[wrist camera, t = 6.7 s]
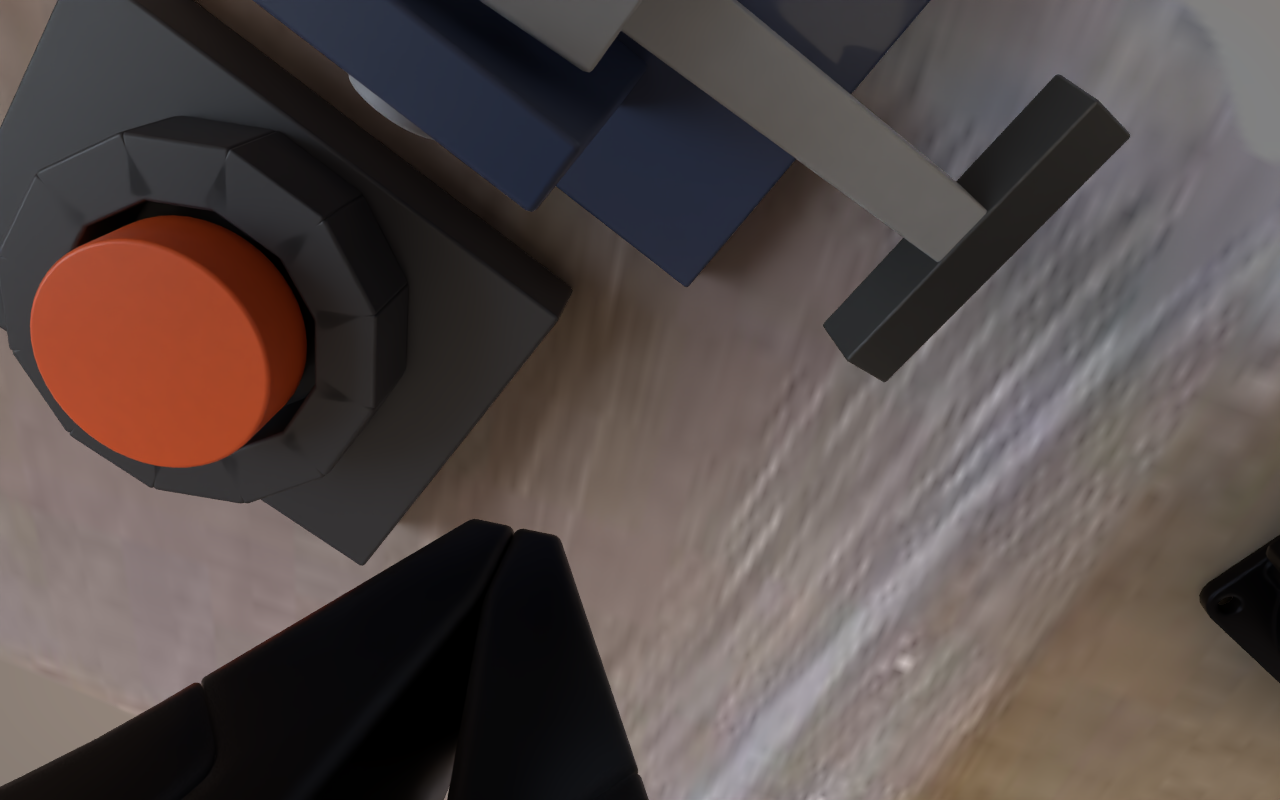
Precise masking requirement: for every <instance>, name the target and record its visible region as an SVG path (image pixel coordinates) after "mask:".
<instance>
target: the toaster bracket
mask: <svg viewBox="0 0 1280 800" xmlns="http://www.w3.org/2000/svg"><path fill="white" fill-rule="evenodd" d="M253 1H254V2H256V3H257V4H258V5H260V6H261V7H262V8H263V9H265V10H266V11H267V12H269V13H270V14H271V15H273V16H274V17H275V18H276V19H278V20H279V21H280V22H282V23H283V24H284V25H286V26H287V27H288V28H289V29H291V30H292V31H293V32H295V33H296V34H297V35H299V36H300V37H301V38H302V39H304V40H305V41H306V42H308V43H309V44H310V45H312V46H313V47H314V48H315V49H317V50H318V51H319V52H321V53H322V54H323V55H325V56H326V57H327V58H328V59H330V60H331V61H332V62H334V63H335V64H336V65H338V66H339V67H340V68H341V69H343V70H344V71H345V72H347V73H348V74H349V79H350V82H351V84H352V85H353V87H354V88H355V90H356V91H357V92H358V93H359V94H360V95H361V96H362V97H363V99H364V100H365V101H366V102H368V103H369V104H370V105H371V106H372V107H373V108H374V109H375V110H377V111H378V112H379V113H380V114H382V115H383V116H385V117H386V118H387V119H389V120H390V121H392V122H393V123H395V124H397V125H398V126H400V127H402V128H404V129H405V130H407V131H409V132H412V133H414V134H416V135H419V136H421V137H424V138H427V139H432V140H435V141H436V142H438V143H439V144H440V145H442V146H443V147H444V148H446V149H447V150H448V151H449V152H451V153H452V154H453V155H455V156H456V157H457V158H459V159H460V160H461V161H462V162H464V163H465V164H466V165H468V166H469V167H470V168H472V169H473V170H474V171H475V172H477V173H478V174H479V175H481V176H482V177H483V178H485V179H486V180H487V181H488V182H490V183H491V184H492V185H494V186H495V187H496V188H498V189H499V190H500V191H502V192H503V193H504V194H505V195H507V196H508V197H509V198H511V199H512V200H513V201H515V202H516V203H517V204H518V205H520V206H521V207H522V208H524V209H525V210H527V211H530V212H533V211H534V210H536V209H537V208H538V207H539V206H540V205H541V203H542V202H543V201H544V200H545V198H546V197H547V196H548V195H549V193H550V192H551V191H552V190H553V188H554V187H555V186H556V187H558V188H559V189H560V190H562V191H563V192H564V193H565V194H567V195H568V196H569V197H571V198H572V199H573V200H574V201H576V202H577V203H578V204H579V205H581V206H582V207H583V208H585V209H586V210H587V211H588V212H590V213H591V214H592V215H594V216H595V217H596V218H597V219H599V220H600V221H601V222H603V223H604V224H605V225H606V226H608V227H609V228H610V229H612V230H613V231H614V232H615V233H617V234H618V235H619V236H621V237H622V238H623V239H624V240H626V241H627V242H628V243H630V244H631V245H632V246H633V247H635V248H636V249H637V250H638V251H640V252H641V253H642V254H644V255H645V256H646V257H647V258H649V259H650V260H651V261H653V262H654V263H655V264H656V265H658V266H659V267H660V268H662V269H663V270H664V271H665V272H667V273H668V274H669V275H671V276H672V277H673V278H674V279H676V280H677V281H678V282H680V283H681V284H682V285H683V286H685V287H688V286H689V285H690V284H691V283H692V282H693V281H694V279H695V278H696V277H697V276H698V275H699V273H700V272H701V271H702V270H703V269H704V268H705V266H706V265H707V264H708V263H709V262H710V260H711V259H712V258H713V257H714V256H715V255H716V253H717V252H718V251H719V250H720V249H721V247H722V246H723V245H724V244H725V243H726V242H727V240H728V239H729V238H730V237H731V236H732V234H733V233H734V232H735V231H736V230H737V229H738V227H739V226H740V225H741V224H742V223H743V221H744V220H745V219H746V218H747V217H748V216H749V214H750V213H751V212H752V211H753V210H754V208H755V207H756V206H757V205H758V204H759V203H760V201H761V200H762V199H763V198H764V197H765V195H766V194H767V193H768V192H769V191H770V190H771V188H772V187H773V186H774V185H775V184H776V182H777V181H778V180H779V179H780V178H781V177H782V175H783V174H784V173H785V172H786V171H787V169H788V168H789V167H790V166H791V165H792V164H793V162H794V161H795V160H796V159H795V158H794V157H793V156H791V155H790V154H789V153H787V152H786V151H785V150H783V149H782V148H780V147H779V146H778V145H776V144H775V143H774V142H772V141H771V140H770V139H768V138H767V137H765V136H764V135H763V134H761V133H760V132H759V131H757V130H756V129H754V128H753V127H752V126H750V125H749V124H748V123H746V122H745V121H744V120H742V119H741V118H739V117H738V116H737V115H735V114H734V113H733V112H731V111H730V110H729V109H727V108H726V107H724V106H723V105H722V104H720V103H719V102H718V101H716V100H715V99H713V98H712V97H711V96H709V95H708V94H707V93H705V92H704V91H703V90H701V89H700V88H698V87H697V86H696V85H694V84H693V83H692V82H690V81H689V80H688V79H686V78H685V77H683V76H682V75H681V74H679V73H678V72H677V71H675V70H674V69H673V68H671V67H670V66H668V65H667V64H666V63H664V62H663V61H662V60H660V59H659V58H657V57H656V56H655V55H653V54H652V53H651V52H649V51H648V50H647V49H645V48H644V47H642V46H641V45H640V44H638V43H637V42H636V41H634V40H633V39H632V38H630V37H629V36H627V35H626V34H625V33H623V32H622V31H620V33H619V34H618V36H617V37H616V38H615V40H614V41H613V43H612V44H611V45H610V47H609V48H608V50H607V51H606V52H605V54H604V55H603V57H602V58H601V59H600V61H599V62H598V64H597V65H596V66H595V68H594V69H593V70H592V71H591V72H585V71H582V70H580V69H579V68H578V67H576V66H575V65H573V64H572V63H570V62H569V61H567V60H566V59H564V58H563V57H561V56H560V55H559V54H557V53H556V52H554V51H553V50H551V49H550V48H548V47H547V46H545V45H544V44H542V43H541V42H539V41H538V40H537V39H535V38H534V37H532V36H531V35H529V34H528V33H526V32H525V31H523V30H522V29H520V28H519V27H517V26H516V25H515V24H513V23H512V22H510V21H509V20H507V19H506V18H504V17H503V16H501V15H500V14H498V13H497V12H495V11H494V10H493V9H491V8H490V7H488V6H487V5H485V4H484V3H482V2H481V1H479V0H253ZM737 1H738V2H739V3H741V4H742V5H743V6H744V7H746V8H747V9H748V10H749V11H750V12H752V13H753V14H754V15H755V16H756V17H758V18H759V19H760V20H761V21H762V22H764V23H765V24H766V25H767V26H768V27H770V28H771V29H772V30H773V31H775V32H776V33H777V34H778V35H779V36H781V37H782V38H783V39H784V40H785V41H787V42H788V43H789V44H790V45H791V46H793V47H794V48H795V49H796V50H798V51H799V52H800V53H801V54H802V55H804V56H805V57H806V58H807V59H808V60H810V61H811V62H812V63H813V64H814V65H816V66H817V67H818V68H819V69H821V70H822V71H823V72H824V73H825V74H827V75H828V76H829V77H830V78H831V79H833V80H834V81H835V82H836V83H837V84H839V85H840V86H841V87H842V88H843V89H845V90H846V91H847V92H848V93H850V94H852V93H853V91H854V90H855V89H856V88H857V87H858V85H859V84H860V83H861V82H862V81H863V80H864V78H865V77H866V76H867V75H868V74H869V72H870V71H871V70H872V69H873V68H874V67H875V65H876V64H877V63H878V62H879V61H880V59H881V58H882V57H883V56H884V55H885V54H886V52H887V51H888V50H889V49H890V48H891V46H892V45H893V44H894V43H895V42H896V41H897V39H898V38H899V37H900V36H901V35H902V33H903V32H904V31H905V30H906V29H907V28H908V26H909V25H910V24H911V23H912V22H913V20H914V19H915V18H916V17H917V16H918V15H919V13H920V12H921V11H922V10H923V9H924V7H925V6H926V5H927V4H928V3H929V2H930V0H737Z"/></svg>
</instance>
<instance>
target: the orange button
mask: <svg viewBox="0 0 1280 800" xmlns="http://www.w3.org/2000/svg"><path fill="white" fill-rule="evenodd" d="M30 334H31V343H32V348H33V353H34V357H35V360H36V363H37V366H38V369H39V371H40V373H41V375H42V378H43V380H44V382H45V384H46V386H47V387H48V389H49V391H50V392H51V394H52V395H53V397H54V399H55V400H56V401H57V402H58V404H59V405H60V406H61V408H62V409H63V410H64V412H65V413H66V414H67V415H68V416H69V417H70V418H71V419H72V420H73V421H74V422H75V423H76V424H77V425H78V426H79V427H80V428H82V429H83V430H84V431H85V432H86V433H87V434H89V435H90V436H91V437H93V438H94V439H95V440H97V441H98V442H100V443H101V444H103V445H105V446H106V447H108V448H110V449H111V450H113V451H115V452H117V453H119V454H122V455H124V456H126V457H128V458H131V459H134V460H137V461H140V462H143V463H147V464H151V465H156V466H162V467H171V468H188V467H195V466H202V465H206V464H210V463H213V462H217V461H219V460H221V459H223V458H226V457H228V456H230V455H231V454H233V453H234V452H236V451H237V450H239V449H240V448H241V447H243V446H244V445H245V444H246V443H247V442H248V441H249V440H250V439H251V438H252V437H253V436H254V435H255V434H256V433H257V432H258V431H259V430H260V429H261V428H262V427H263V426H264V425H265V424H266V423H267V422H268V421H269V420H270V419H271V418H272V417H273V416H274V415H275V414H276V413H277V412H278V411H279V410H281V409H282V408H283V407H284V406H285V405H286V403H287V402H288V401H289V400H290V398H291V397H292V396H293V394H294V393H295V391H296V389H297V387H298V385H299V383H300V381H301V378H302V375H303V373H304V368H305V363H306V356H307V338H306V329H305V324H304V319H303V315H302V313H301V310H300V307H299V304H298V302H297V300H296V297H295V295H294V293H293V291H292V289H291V288H290V286H289V285H288V283H287V281H286V280H285V278H284V277H283V275H282V274H281V273H280V271H279V270H278V269H277V268H276V267H275V265H274V264H273V263H272V262H271V261H270V260H269V259H268V258H267V257H266V256H265V255H264V254H263V253H262V252H261V251H260V250H259V249H257V248H256V247H255V246H254V245H252V244H251V243H250V242H248V241H247V240H245V239H244V238H242V237H241V236H239V235H237V234H236V233H234V232H232V231H230V230H228V229H226V228H224V227H222V226H220V225H217V224H214V223H211V222H208V221H205V220H202V219H197V218H193V217H188V216H177V215H166V216H155V217H150V218H145V219H142V220H139V221H136V222H133V223H131V224H128V225H126V226H124V227H122V228H119V229H117V230H115V231H113V232H110V233H108V234H106V235H104V236H101V237H99V238H97V239H95V240H92V241H90V242H88V243H86V244H83V245H81V246H79V247H77V248H75V249H74V250H72V251H70V252H68V253H67V254H65V255H64V256H63V257H62V258H60V259H59V260H58V261H56V263H55V264H54V265H53V266H52V267H51V268H50V269H49V270H48V272H47V273H46V275H45V276H44V278H43V280H42V281H41V283H40V285H39V287H38V290H37V292H36V294H35V297H34V300H33V305H32V309H31V318H30Z"/></svg>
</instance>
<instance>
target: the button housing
mask: <svg viewBox="0 0 1280 800" xmlns="http://www.w3.org/2000/svg"><path fill="white" fill-rule="evenodd" d="M166 215H177V216H188V217H193V218H197V219H202V220H205V221H208V222H211V223H214V224H217V225H220V226H222V227H224V228H226V229H228V230H230V231H232V232H234V233H236V234H237V235H239V236H241V237H242V238H244V239H245V240H247V241H248V242H250V243H251V244H252V245H254V246H255V247H256V248H257V249H259V250H260V251H261V252H262V253H263V254H264V255H265V256H266V257H267V258H268V259H269V260H270V261H271V262H272V263H273V264H274V265H275V267H276V268H277V269H278V270H279V271H280V273H281V274H282V275H283V277H284V278H285V280H286V281H287V283H288V285H289V286H290V288H291V289H292V291H293V293H294V295H295V297H296V300H297V302H298V304H299V307H300V310H301V313H302V315H303V319H304V324H305V329H306V338H307V356H306V363H305V368H304V373H303V375H302V378H301V381H300V383H299V385H298V387H297V389H296V391H295V393H294V394H293V396H292V397H291V398H290V400H289V401H288V402H287V403H286V405H285V406H284V407H283V408H282V409H281V410H279V411H278V412H277V413H276V414H275V415H274V416H273V417H272V418H271V419H270V420H269V421H268V422H267V423H266V424H265V425H264V426H263V427H262V428H261V429H260V430H259V431H258V432H257V433H256V434H255V435H254V436H253V437H252V438H251V439H250V440H249V441H248V442H247V443H246V444H245V445H244V446H243V447H241V448H240V449H239V450H237V451H236V452H234V453H233V454H231V455H230V456H228V457H226V458H223V459H221V460H219V461H217V462H213V463H210V464H206V465H202V466H195V467H188V468H171V467H162V466H156V465H151V464H147V463H143V462H140V461H137V460H134V459H131V458H128V457H126V456H124V455H122V454H119V453H117V452H115V451H113V450H111V449H110V448H108V447H106V446H105V445H103V444H101V443H100V442H98V441H97V440H95V439H94V438H93V437H91V436H90V435H89V434H87V433H86V432H85V431H84V430H83V429H82V428H80V427H79V426H78V425H77V424H76V423H75V422H74V421H73V420H72V419H71V418H70V417H69V416H68V415H67V414H66V413H65V412H64V410H63V409H62V408H61V406H60V405H59V404H58V402H57V401H56V400H55V399H54V397H53V395H52V394H51V392H50V391H49V389H48V387H47V386H46V384H45V382H44V380H43V378H42V375H41V373H40V371H39V369H38V366H37V363H36V360H35V357H34V353H33V348H32V343H31V334H30V318H31V309H32V305H33V300H34V297H35V294H36V292H37V290H38V287H39V285H40V283H41V281H42V280H43V278H44V276H45V275H46V273H47V272H48V270H49V269H50V268H51V267H52V266H53V265H54V264H55V263H56V261H58V260H59V259H60V258H62V257H63V256H64V255H65V254H67V253H68V252H70V251H72V250H74V249H75V248H77V247H79V246H81V245H83V244H86V243H88V242H90V241H92V240H95V239H97V238H99V237H101V236H104V235H106V234H108V233H110V232H113V231H115V230H117V229H119V228H122V227H124V226H126V225H128V224H131V223H133V222H136V221H139V220H142V219H145V218H150V217H155V216H166ZM571 294H572V288H571V287H570V286H569V285H567V284H566V283H565V282H563V281H562V280H561V279H559V278H558V277H557V276H555V275H554V274H553V273H551V272H550V271H549V270H547V269H546V268H545V267H543V266H542V265H541V264H540V263H538V262H537V261H536V260H534V259H533V258H532V257H530V256H529V255H528V254H526V253H525V252H524V251H522V250H521V249H520V248H518V247H517V246H516V245H514V244H513V243H512V242H511V241H509V240H508V239H507V238H505V237H504V236H503V235H501V234H500V233H499V232H497V231H496V230H495V229H493V228H492V227H491V226H489V225H488V224H487V223H485V222H484V221H483V220H482V219H480V218H479V217H478V216H476V215H475V214H474V213H472V212H471V211H470V210H468V209H467V208H466V207H464V206H463V205H462V204H460V203H459V202H458V201H456V200H455V199H454V198H453V197H451V196H450V195H449V194H447V193H446V192H445V191H443V190H442V189H441V188H439V187H438V186H437V185H435V184H434V183H433V182H431V181H430V180H429V179H428V178H426V177H425V176H424V175H422V174H421V173H420V172H418V171H417V170H416V169H414V168H413V167H412V166H410V165H409V164H408V163H406V162H405V161H404V160H402V159H401V158H400V157H399V156H397V155H396V154H395V153H393V152H392V151H391V150H389V149H388V148H387V147H385V146H384V145H383V144H381V143H380V142H379V141H377V140H376V139H375V138H373V137H372V136H371V135H370V134H368V133H367V132H366V131H364V130H363V129H362V128H360V127H359V126H358V125H356V124H355V123H354V122H352V121H351V120H350V119H348V118H347V117H346V116H344V115H343V114H342V113H341V112H339V111H338V110H337V109H335V108H334V107H333V106H331V105H330V104H329V103H327V102H326V101H325V100H323V99H322V98H321V97H319V96H318V95H317V94H315V93H314V92H313V91H312V90H310V89H309V88H308V87H306V86H305V85H304V84H302V83H301V82H300V81H298V80H297V79H296V78H294V77H293V76H292V75H290V74H289V73H288V72H286V71H285V70H284V69H283V68H281V67H280V66H279V65H277V64H276V63H275V62H273V61H272V60H271V59H269V58H268V57H267V56H265V55H264V54H263V53H261V52H260V51H259V50H257V49H256V48H255V47H254V46H252V45H251V44H250V43H248V42H247V41H246V40H244V39H243V38H242V37H240V36H239V35H238V34H236V33H235V32H234V31H232V30H231V29H230V28H228V27H227V26H226V25H225V24H223V23H222V22H221V21H219V20H218V19H217V18H215V17H214V16H213V15H211V14H210V13H209V12H207V11H206V10H205V9H203V8H202V7H201V6H199V5H198V4H197V3H196V2H194V1H193V0H58V1H57V3H56V5H55V7H54V10H53V12H52V14H51V16H50V19H49V21H48V23H47V25H46V27H45V30H44V32H43V34H42V36H41V39H40V41H39V43H38V45H37V47H36V50H35V52H34V54H33V56H32V59H31V61H30V63H29V65H28V67H27V70H26V72H25V74H24V76H23V78H22V81H21V83H20V85H19V87H18V90H17V92H16V94H15V96H14V98H13V101H12V103H11V105H10V107H9V110H8V112H7V114H6V116H5V118H4V121H3V123H2V125H1V127H0V327H1V328H3V329H4V330H6V331H7V334H8V341H9V347H10V349H11V350H13V354H14V356H15V357H16V358H17V360H18V361H19V363H20V364H21V366H22V367H23V369H24V370H25V372H26V373H27V374H28V376H29V377H30V379H31V380H32V382H33V383H34V385H35V386H36V388H37V389H38V390H39V392H40V393H41V395H42V396H43V398H44V399H45V401H46V402H47V404H48V405H49V406H50V408H51V409H52V411H53V412H54V414H55V415H56V417H57V418H58V420H59V421H60V422H61V424H62V425H63V427H64V428H65V430H66V431H68V432H70V435H71V436H72V437H73V438H75V439H76V440H78V441H79V442H81V443H83V444H84V445H86V446H87V447H89V448H90V449H92V450H93V451H95V452H96V453H98V454H99V455H101V456H103V457H104V458H106V459H107V460H109V461H110V462H112V463H113V464H115V465H116V466H118V467H119V468H121V469H123V470H124V471H126V472H127V473H129V474H130V475H132V476H133V477H135V478H136V479H138V480H140V481H141V482H143V483H144V484H146V485H147V486H149V487H151V488H153V487H154V488H155V489H158V490H164V491H170V492H176V493H182V494H188V495H194V496H200V497H206V498H212V499H218V500H224V501H230V502H236V503H250V502H253V501H256V500H259V499H261V500H262V501H264V502H265V503H267V504H269V505H270V506H272V507H273V508H275V509H276V510H278V511H279V512H281V513H282V514H284V515H285V516H287V517H288V518H290V519H291V520H293V521H294V522H296V523H297V524H299V525H300V526H302V527H303V528H305V529H306V530H308V531H309V532H311V533H312V534H314V535H315V536H317V537H318V538H320V539H321V540H323V541H324V542H326V543H327V544H329V545H330V546H332V547H333V548H335V549H337V550H338V551H340V552H341V553H343V554H344V555H346V556H347V557H349V558H350V559H352V560H353V561H355V562H356V563H358V564H359V565H364V564H366V562H367V561H368V560H369V559H370V557H371V556H372V555H373V554H374V552H375V551H376V550H377V549H378V547H379V546H380V545H381V543H382V542H383V541H384V540H385V538H386V537H387V536H388V535H389V533H390V532H391V531H392V530H393V528H394V527H395V526H396V525H397V523H398V522H399V521H400V519H401V518H402V517H403V516H404V514H405V513H406V512H407V511H408V509H409V508H410V507H411V506H412V504H413V503H414V502H415V501H416V499H417V498H418V497H419V495H420V494H421V493H422V492H423V490H424V489H425V488H426V487H427V485H428V484H429V483H430V482H431V480H432V479H433V478H434V477H435V475H436V474H437V473H438V471H439V470H440V469H441V468H442V466H443V465H444V464H445V463H446V461H447V460H448V459H449V458H450V456H451V455H452V454H453V453H454V451H455V450H456V449H457V447H458V446H459V445H460V444H461V442H462V441H463V440H464V439H465V437H466V436H467V435H468V434H469V432H470V431H471V430H472V429H473V427H474V426H475V425H476V423H477V422H478V421H479V420H480V418H481V417H482V416H483V415H484V413H485V412H486V411H487V410H488V408H489V407H490V406H491V405H492V403H493V402H494V401H495V399H496V398H497V397H498V396H499V394H500V393H501V392H502V391H503V389H504V388H505V387H506V386H507V384H508V383H509V382H510V381H511V379H512V378H513V377H514V375H515V374H516V373H517V372H518V370H519V369H520V368H521V367H522V365H523V364H524V363H525V362H526V360H527V359H528V358H529V357H530V355H531V354H532V353H533V352H534V350H535V349H536V348H537V346H538V345H539V344H540V343H541V341H542V340H543V339H544V338H545V336H546V335H547V334H548V333H549V331H550V330H551V329H552V328H553V326H554V325H555V324H556V322H557V321H558V319H559V317H560V315H561V313H562V311H563V310H564V308H565V306H566V304H567V302H568V300H569V298H570V296H571Z"/></svg>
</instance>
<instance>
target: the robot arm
mask: <svg viewBox="0 0 1280 800" xmlns="http://www.w3.org/2000/svg"><path fill="white" fill-rule="evenodd" d="M1199 597H1200V603H1201V605H1202V606H1203V608H1204V609H1205V611H1206V612H1207V614H1208V615H1209V616H1210V618H1211V619H1212V620H1213V621H1214V622H1215V623H1217V624H1218V625H1219V626H1220V627H1221V628H1222V629H1223V630H1224V631H1225V632H1226V633H1227V634H1228V635H1229V636H1230V637H1231V638H1232V639H1233V640H1235V641H1236V642H1237V643H1238V644H1239V645H1240V646H1241V647H1242V648H1243V649H1244V650H1245V651H1246V652H1247V653H1248V654H1249V655H1250V656H1251V657H1253V658H1254V659H1255V660H1256V661H1257V662H1258V663H1259V664H1260V665H1261V666H1262V667H1263V668H1264V669H1265V670H1266V671H1267V672H1268V673H1269V674H1271V675H1272V676H1273V677H1274V678H1275V679H1276V680H1277V681H1278V682H1279V683H1280V535H1279V536H1277V537H1276V538H1274V539H1273V540H1271V541H1270V542H1268V543H1267V544H1265V545H1264V546H1262V547H1261V548H1260V549H1258V550H1257V551H1255V552H1254V553H1252V554H1251V555H1249V556H1248V557H1246V558H1245V559H1243V560H1242V561H1240V562H1239V563H1237V564H1236V565H1234V566H1233V567H1231V568H1230V569H1228V570H1227V571H1225V572H1224V573H1222V574H1221V575H1219V576H1218V577H1216V578H1215V579H1213V580H1212V581H1210V582H1209V583H1208V584H1207V585H1206V586H1205V587H1204V588H1203V589H1202V591H1201V593H1200V595H1199ZM1226 597H1233V598H1232V599H1231V600H1230V601H1229V602H1227V603H1225V604H1218V603H1219V602H1220V601H1221V600H1222V599H1224V598H1226ZM449 786H450V787H449ZM448 788H449V793H448V799H447V800H649V799H648V796H647V793H646V790H645V787H644V784H643V781H642V778H641V777H640V775H638V768H637V765H636V762H635V759H634V756H633V753H632V750H631V747H630V744H629V741H628V738H627V735H626V732H625V729H624V726H623V723H622V720H621V717H620V715H619V712H618V709H617V706H616V703H615V700H614V697H613V694H612V691H611V688H610V685H609V682H608V679H607V676H606V673H605V670H604V667H603V664H602V661H601V658H600V655H599V652H598V649H597V646H596V643H595V640H594V637H593V634H592V631H591V628H590V625H589V622H588V620H587V617H586V614H585V611H584V608H583V605H582V602H581V599H580V596H579V593H578V590H577V587H576V584H575V581H574V578H573V575H572V572H571V569H570V566H569V563H568V560H567V557H566V554H565V551H564V548H563V545H562V543H561V540H560V539H559V538H558V537H557V536H555V535H552V534H547V533H542V532H537V531H532V530H527V529H520V530H517V531H516V532H515V533H514V531H513V529H512V528H511V527H509V526H507V525H502V524H497V523H493V522H488V521H483V520H478V519H472V520H469V521H467V522H465V523H463V524H462V525H460V526H458V527H457V528H455V529H453V530H452V531H450V532H448V533H447V534H445V535H443V536H442V537H440V538H438V539H436V540H435V541H433V542H431V543H430V544H428V545H426V546H425V547H423V548H421V549H420V550H418V551H416V552H415V553H413V554H411V555H410V556H408V557H406V558H404V559H403V560H401V561H399V562H398V563H396V564H394V565H393V566H391V567H389V568H388V569H386V570H384V571H383V572H381V573H379V574H377V575H376V576H374V577H372V578H371V579H369V580H367V581H366V582H364V583H362V584H361V585H359V586H357V587H356V588H354V589H352V590H350V591H349V592H347V593H345V594H344V595H342V596H340V597H339V598H337V599H335V600H334V601H332V602H330V603H329V604H327V605H325V606H323V607H322V608H320V609H318V610H317V611H315V612H313V613H312V614H310V615H308V616H307V617H305V618H303V619H302V620H300V621H298V622H296V623H295V624H293V625H291V626H290V627H288V628H286V629H285V630H283V631H281V632H280V633H278V634H276V635H275V636H273V637H271V638H269V639H268V640H266V641H264V642H263V643H261V644H259V645H258V646H256V647H254V648H253V649H251V650H249V651H248V652H246V653H244V654H242V655H241V656H239V657H237V658H236V659H234V660H232V661H231V662H229V663H227V664H226V665H224V666H222V667H221V668H219V669H217V670H216V671H214V672H212V673H210V674H209V675H207V676H205V677H204V678H203V679H202V682H201V684H200V683H193V684H191V685H190V686H188V687H186V688H184V689H183V690H181V691H179V692H178V693H176V694H174V695H173V696H171V697H169V698H168V699H166V700H164V701H163V702H161V703H159V704H157V705H156V706H154V707H152V708H150V709H149V710H147V711H145V712H143V713H141V714H140V715H138V716H136V717H134V718H133V719H131V720H129V721H127V722H125V723H124V724H122V725H120V726H118V727H116V728H115V729H113V730H111V731H109V732H107V733H106V734H104V735H102V736H100V737H99V738H97V739H95V740H93V741H91V742H89V743H87V744H85V745H83V746H81V747H79V748H77V749H75V750H73V751H71V752H69V753H67V754H65V755H63V756H61V757H59V758H57V759H55V760H53V761H51V762H49V763H48V764H45V765H44V766H41V767H39V768H38V769H35V770H33V771H31V772H29V773H27V774H26V775H24V776H22V777H19V778H18V779H15V780H13V781H11V782H9V783H7V784H5V785H3V786H1V787H0V800H444V798H445V795H446V793H447V791H448Z"/></svg>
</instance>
